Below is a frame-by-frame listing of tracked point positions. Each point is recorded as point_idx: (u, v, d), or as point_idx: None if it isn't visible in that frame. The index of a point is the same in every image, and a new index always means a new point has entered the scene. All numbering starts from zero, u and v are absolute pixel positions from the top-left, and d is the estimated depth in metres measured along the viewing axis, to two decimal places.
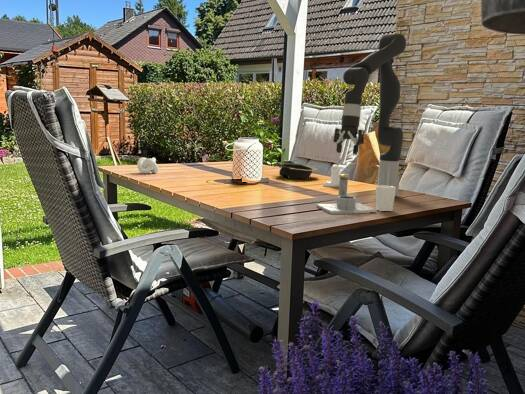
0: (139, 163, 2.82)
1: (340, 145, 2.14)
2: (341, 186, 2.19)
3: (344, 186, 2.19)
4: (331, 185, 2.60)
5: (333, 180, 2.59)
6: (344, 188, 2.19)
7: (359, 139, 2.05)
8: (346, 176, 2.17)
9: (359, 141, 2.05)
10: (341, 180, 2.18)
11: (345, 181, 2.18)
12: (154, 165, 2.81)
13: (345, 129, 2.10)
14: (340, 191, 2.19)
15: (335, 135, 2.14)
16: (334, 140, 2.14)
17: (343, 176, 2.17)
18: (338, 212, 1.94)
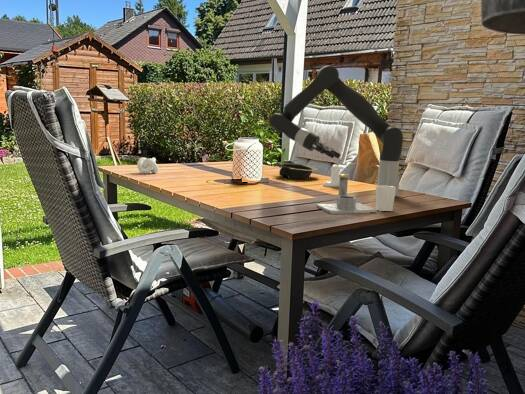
0: (139, 163, 2.82)
1: (333, 153, 2.23)
2: (341, 186, 2.19)
3: (344, 186, 2.19)
4: (331, 185, 2.60)
5: (333, 180, 2.59)
6: (344, 188, 2.19)
7: (319, 151, 2.15)
8: (346, 176, 2.17)
9: (320, 152, 2.15)
10: (341, 180, 2.18)
11: (345, 181, 2.18)
12: (154, 165, 2.81)
13: None
14: (340, 191, 2.19)
15: None
16: None
17: (343, 176, 2.17)
18: (338, 212, 1.94)
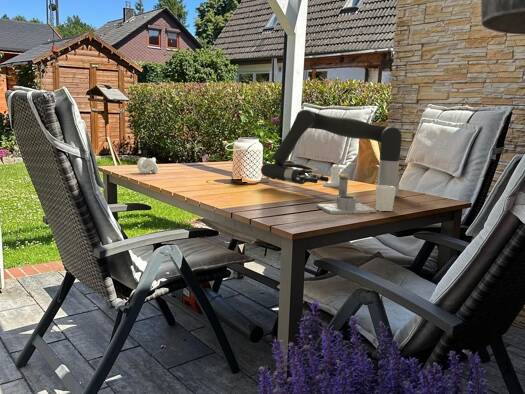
0: (139, 163, 2.82)
1: (322, 178, 2.33)
2: (341, 186, 2.19)
3: (344, 186, 2.19)
4: (331, 185, 2.60)
5: (333, 180, 2.59)
6: (344, 188, 2.19)
7: (303, 181, 2.27)
8: (346, 176, 2.17)
9: (304, 182, 2.27)
10: (341, 180, 2.18)
11: (345, 181, 2.18)
12: (154, 165, 2.81)
13: None
14: (340, 191, 2.19)
15: (318, 179, 2.37)
16: None
17: (343, 176, 2.17)
18: (338, 212, 1.94)
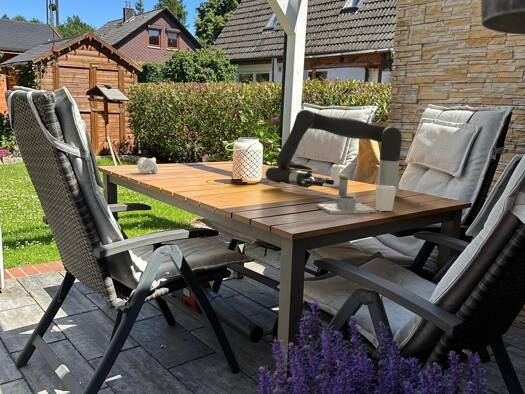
0: (139, 163, 2.82)
1: (327, 181, 2.31)
2: (341, 186, 2.19)
3: (344, 186, 2.19)
4: (331, 185, 2.60)
5: None
6: (344, 188, 2.19)
7: None
8: (346, 176, 2.17)
9: (309, 185, 2.25)
10: (341, 180, 2.18)
11: (345, 181, 2.18)
12: (154, 165, 2.81)
13: None
14: (340, 191, 2.19)
15: (323, 182, 2.36)
16: None
17: (343, 176, 2.17)
18: (338, 212, 1.94)
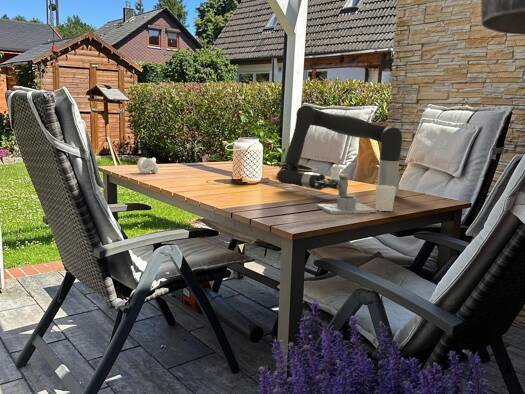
0: (139, 163, 2.82)
1: None
2: (341, 186, 2.19)
3: (344, 186, 2.19)
4: None
5: None
6: (344, 188, 2.19)
7: (321, 187, 2.20)
8: (346, 176, 2.17)
9: (323, 187, 2.20)
10: (341, 180, 2.18)
11: (345, 181, 2.18)
12: (154, 165, 2.81)
13: None
14: (340, 191, 2.19)
15: (336, 184, 2.30)
16: None
17: (343, 176, 2.17)
18: (338, 212, 1.94)
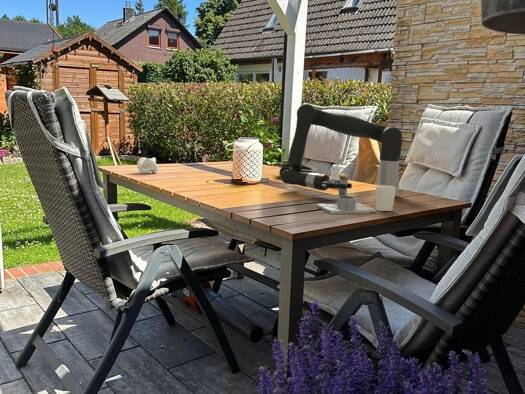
0: (139, 163, 2.82)
1: None
2: None
3: None
4: None
5: None
6: None
7: None
8: (346, 176, 2.17)
9: None
10: (341, 180, 2.18)
11: (345, 181, 2.18)
12: (154, 165, 2.81)
13: None
14: (340, 191, 2.19)
15: None
16: None
17: (343, 176, 2.17)
18: (338, 212, 1.94)
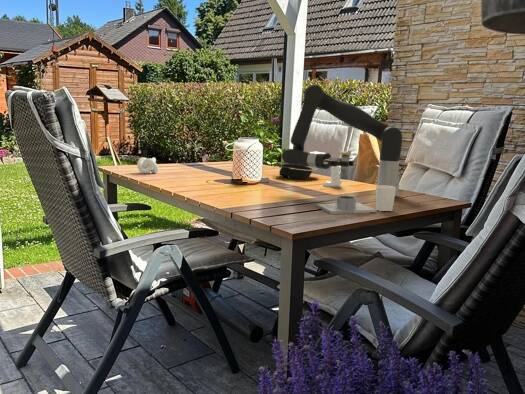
0: (139, 163, 2.82)
1: None
2: None
3: None
4: (331, 185, 2.60)
5: (333, 180, 2.59)
6: None
7: (332, 165, 2.17)
8: (348, 153, 2.15)
9: (334, 166, 2.17)
10: (343, 157, 2.17)
11: (347, 158, 2.16)
12: (154, 165, 2.81)
13: None
14: (342, 169, 2.18)
15: None
16: None
17: (345, 153, 2.15)
18: (338, 212, 1.94)
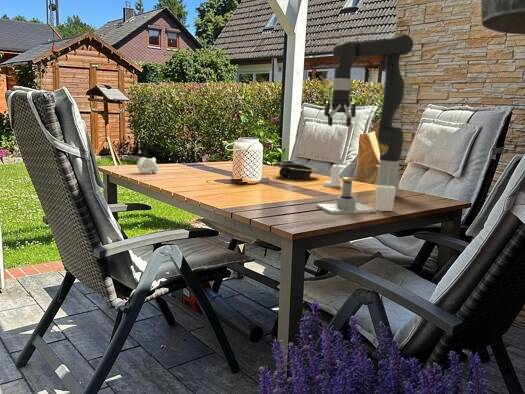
0: (139, 163, 2.82)
1: (347, 119, 2.21)
2: (345, 191, 2.00)
3: (348, 191, 1.99)
4: (331, 185, 2.60)
5: (333, 180, 2.59)
6: (348, 193, 2.00)
7: None
8: (350, 180, 1.98)
9: None
10: (345, 184, 1.99)
11: (349, 185, 1.99)
12: (154, 165, 2.81)
13: None
14: (343, 196, 2.00)
15: None
16: None
17: (347, 180, 1.98)
18: (338, 212, 1.94)
